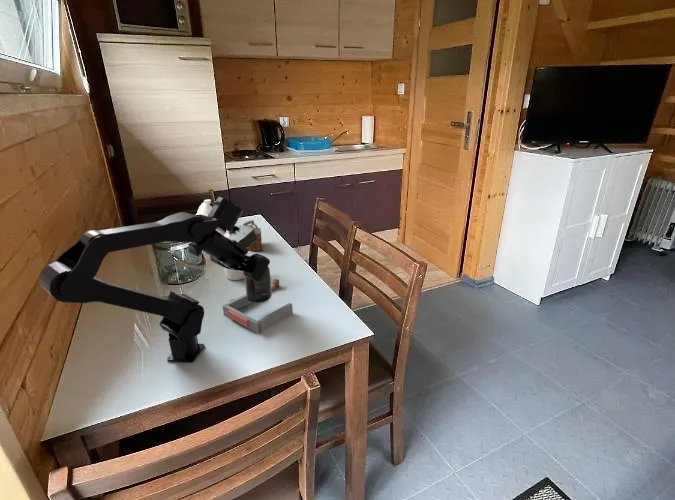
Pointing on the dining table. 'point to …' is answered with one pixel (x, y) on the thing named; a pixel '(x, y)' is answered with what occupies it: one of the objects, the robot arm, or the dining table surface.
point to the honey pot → (207, 211)
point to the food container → (257, 244)
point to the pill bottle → (233, 273)
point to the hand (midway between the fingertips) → (258, 273)
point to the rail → (272, 285)
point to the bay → (256, 326)
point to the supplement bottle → (258, 289)
